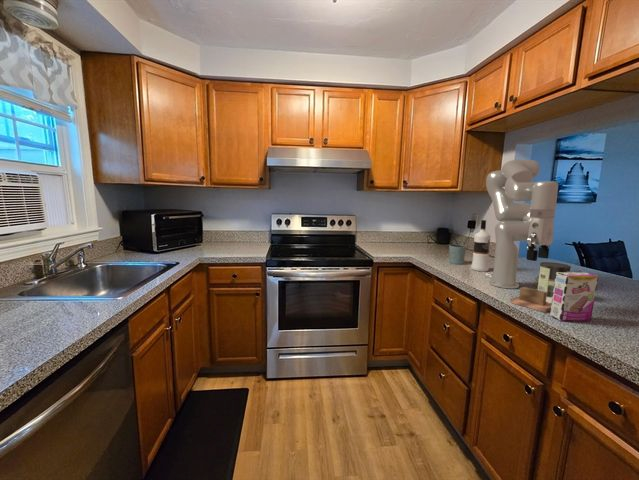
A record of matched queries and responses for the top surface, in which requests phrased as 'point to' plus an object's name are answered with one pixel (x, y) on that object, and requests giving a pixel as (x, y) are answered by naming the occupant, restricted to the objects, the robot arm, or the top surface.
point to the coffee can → (550, 276)
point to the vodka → (481, 249)
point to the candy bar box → (573, 296)
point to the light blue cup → (457, 254)
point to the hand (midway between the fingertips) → (537, 259)
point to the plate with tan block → (532, 299)
